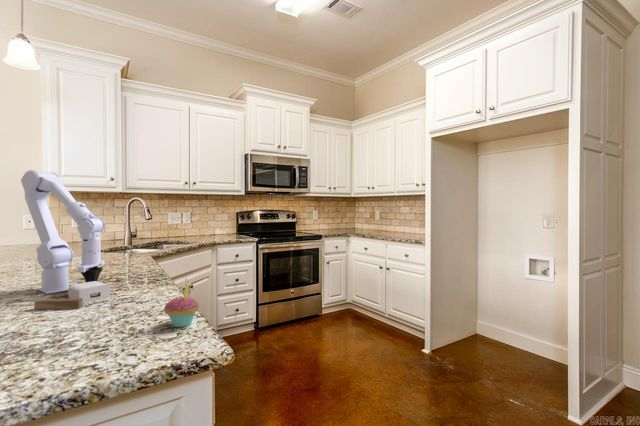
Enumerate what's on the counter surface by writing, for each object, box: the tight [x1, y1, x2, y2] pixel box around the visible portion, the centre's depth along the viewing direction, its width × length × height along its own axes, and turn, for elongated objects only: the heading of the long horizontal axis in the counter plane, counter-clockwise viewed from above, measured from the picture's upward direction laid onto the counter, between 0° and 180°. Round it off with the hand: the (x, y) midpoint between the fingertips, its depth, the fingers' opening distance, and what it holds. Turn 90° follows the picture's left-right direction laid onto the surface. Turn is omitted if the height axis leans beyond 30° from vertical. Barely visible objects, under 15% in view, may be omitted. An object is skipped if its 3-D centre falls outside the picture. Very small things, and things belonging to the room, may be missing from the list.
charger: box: [67, 281, 111, 304], centre depth 116 cm, size 5×9×15 cm
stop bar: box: [33, 298, 84, 311], centre depth 103 cm, size 2×12×2 cm, turn 99°
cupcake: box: [163, 280, 200, 328], centre depth 90 cm, size 9×8×12 cm
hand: (91, 288), depth 122 cm, fingers closed
